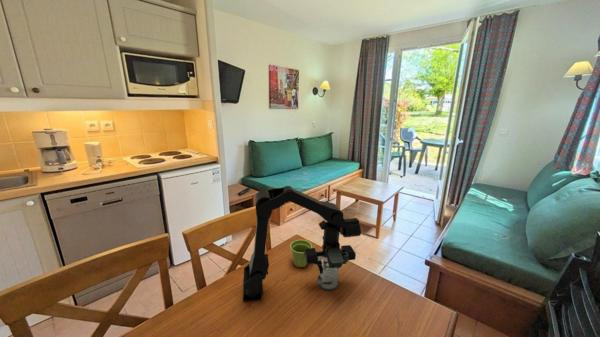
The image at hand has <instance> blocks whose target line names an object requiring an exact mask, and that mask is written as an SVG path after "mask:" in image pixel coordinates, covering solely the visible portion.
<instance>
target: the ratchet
mask: <svg viewBox="0 0 600 337" xmlns="http://www.w3.org/2000/svg"><path fill="white" fill-rule="evenodd" d="M316 283H317V286H318V288H319V289H320V290H322V291H324V292H329V293H330V292H334V291H336V290H337V289H338V286H339V279H338V280H337V281H328V282H323V281H322V278H321V276H320V274H318V276H317V280H316Z"/></svg>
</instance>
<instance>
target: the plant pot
mask: <svg viewBox="0 0 600 337" xmlns="http://www.w3.org/2000/svg"><path fill="white" fill-rule="evenodd" d="M289 247H290V250H291V253H292V258H293V259H292V260H293V264H294V266H296V268H297V267H298V268H299V267H300V268H304V267H306V266H307V265H308V263H307V262H306V259H305V255H304V251H305V249H307V248H313V244H312V243H311V242H310V241H308V240H306V239H296V240H293V241H292V242H291V243H290V245H289Z"/></svg>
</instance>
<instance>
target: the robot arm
mask: <svg viewBox="0 0 600 337" xmlns="http://www.w3.org/2000/svg"><path fill="white" fill-rule="evenodd" d="M254 201H255V203H254V204H255V213H256V220H255V221H256V222H255V223H256V224H255V231H254V232H255V235H254V245H253V253H252V254H251V256H250V259H249V263H247V265H246V266H245V267H244V268H243V280H242V289H243V291H242V292H243V293H242V294H243V295H242V301H243V302H250V301H260V300H262V299H263V298H262V295H263V294H264V290H263V287H264V284H263V281H264V280H265V279H266V277H267V276H268V275H269V267H270V262H269V261H270V260H269V254H268V253H266V247H267V246H266V243H267V234H268V225H269V220H270V219H271V216H272V214H273V211H274V210H276V209H279V208H280V207H282V206H283V205H285V204H287V203H290V202H291V203H293V204H295V205H297V206H299V207H302V208H304V209H306V210H308V211H311V212H313V213H315V214H317V215H318V216H320V217H321V218H322V219H323V220H322V221H319V223H318V226H319V228H320V229H321V230H323V235H322V245H321V249H322V250H321V251H317V250H316V248H315V247H312V248H307V249H305V251H304V255H305V259H306V262H307V265H312V264H314V265H317V268H318V272H319V271H320V273H319V275H320V274H321V273H322V261H321V259H322V258H323V259H324V258H326V257H327V260H328V264H329V267H330V268H337V267H338V268H339V269H340V268H342V267H343V265H347V263H348V262H349V261H355V260H356V257H357V254H356V251H355V250H354V249H353V247H352V246H351V244H346V245H345V244H344V245H341V243H340V235H341V236H342V237H343V238H353V237H356V238H357V237H360V236H361V233H362V230H361V224H360V219H358V217H353V218H345V217H344V213H343V211H342V210H341V209H340V208H339V207H338V205H337V204H336V203H333V202H330V201H321V200H319V199H316V198H314V197H313V196H310V195H308V194H306V193H304V192H301V191H300V190H297V189H296V188H294V187H292V186H290V185H286V186H282V187H274V188H270V189H267V190H265V189H263V190H259V191H258V192H256V194H255V196H254Z"/></svg>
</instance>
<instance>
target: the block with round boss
mask: <svg viewBox="0 0 600 337" xmlns="http://www.w3.org/2000/svg"><path fill="white" fill-rule="evenodd" d="M321 261H322V273H321V274H320V271H319V270H318V272H319V275H320V276H321V278H322V281H323V282H328V281H337V280H338V281H339V270H340V268H338V267H337V268H330V267H329V264H328V260H327V257H326V258H325V257H324V258H323V259H322V258H321Z"/></svg>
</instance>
